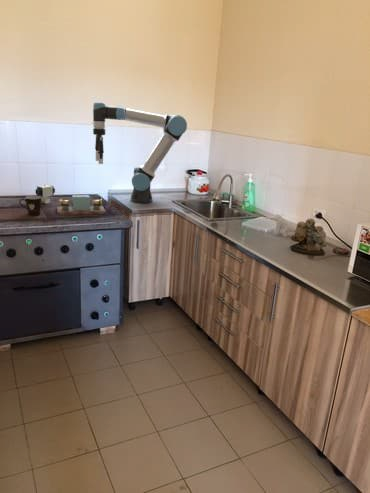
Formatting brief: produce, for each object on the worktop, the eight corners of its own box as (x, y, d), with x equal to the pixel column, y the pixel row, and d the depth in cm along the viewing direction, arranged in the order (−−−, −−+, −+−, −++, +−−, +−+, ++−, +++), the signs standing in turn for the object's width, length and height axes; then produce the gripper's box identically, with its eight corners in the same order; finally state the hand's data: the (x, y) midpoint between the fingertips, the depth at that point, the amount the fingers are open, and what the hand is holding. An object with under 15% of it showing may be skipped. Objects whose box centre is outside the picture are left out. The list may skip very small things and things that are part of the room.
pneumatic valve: (55, 202, 274) (55, 184, 270) (40, 205, 265) (39, 186, 261) (50, 200, 277) (49, 182, 273) (34, 203, 267) (34, 184, 264)
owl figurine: (288, 253, 209) (293, 219, 204) (287, 246, 220) (292, 214, 215) (326, 257, 206) (332, 223, 200) (323, 250, 217) (329, 218, 211)
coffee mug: (45, 214, 246) (44, 197, 242) (34, 217, 238) (33, 199, 235) (30, 210, 250) (29, 194, 247) (18, 213, 242) (17, 196, 239)
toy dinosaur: (263, 228, 244) (268, 210, 240) (305, 240, 236) (310, 221, 232) (260, 231, 238) (265, 212, 235) (302, 243, 230) (308, 224, 226)
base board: (102, 208, 267) (102, 206, 267) (105, 213, 256) (105, 211, 255) (56, 209, 258) (56, 206, 257) (57, 214, 246) (57, 212, 246)
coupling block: (89, 207, 260) (89, 195, 258) (90, 209, 256) (90, 196, 253) (71, 208, 257) (71, 195, 254) (72, 210, 252) (71, 197, 250)
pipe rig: (101, 207, 262) (101, 198, 260) (102, 209, 258) (102, 199, 256) (59, 208, 254) (59, 198, 252) (60, 210, 250) (59, 200, 248)
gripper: (90, 126, 275) (90, 159, 282) (96, 129, 253) (96, 165, 260) (102, 127, 278) (102, 159, 285) (108, 130, 256) (108, 165, 262)
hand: (99, 162), depth 272 cm, fingers open, 13 cm apart
